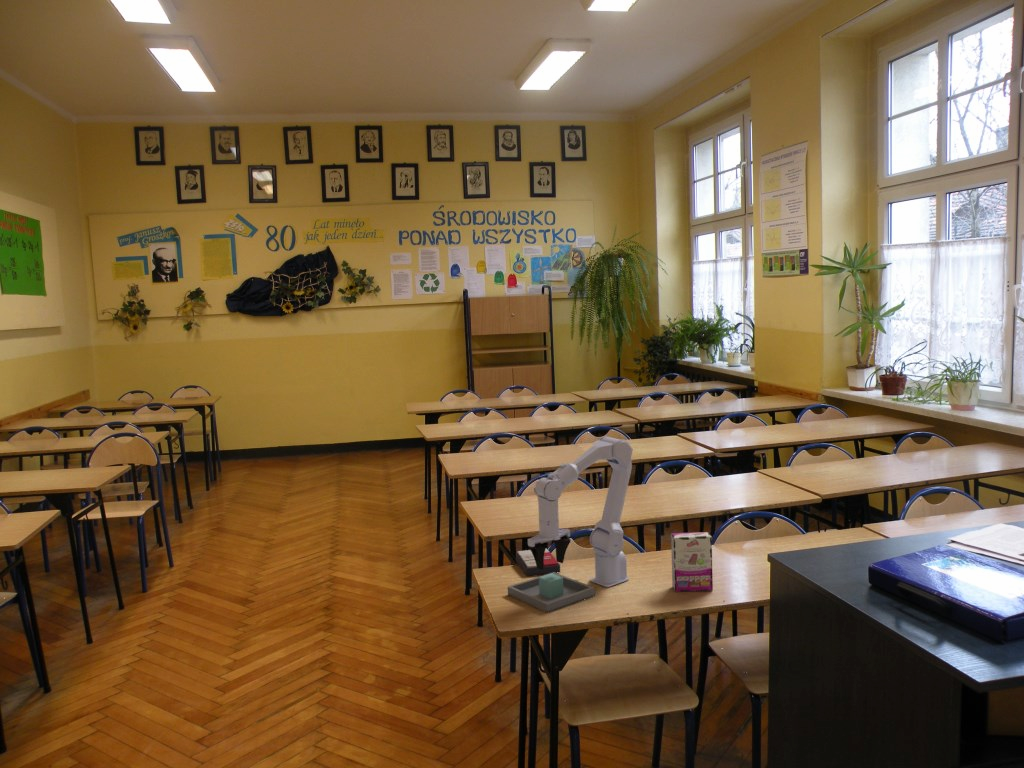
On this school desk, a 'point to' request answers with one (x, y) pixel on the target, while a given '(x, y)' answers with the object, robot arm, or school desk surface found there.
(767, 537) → the school desk surface
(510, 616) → the school desk surface
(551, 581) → the teal cube
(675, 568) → the candy bar box
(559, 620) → the school desk surface
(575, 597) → the charcoal tray
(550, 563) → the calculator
